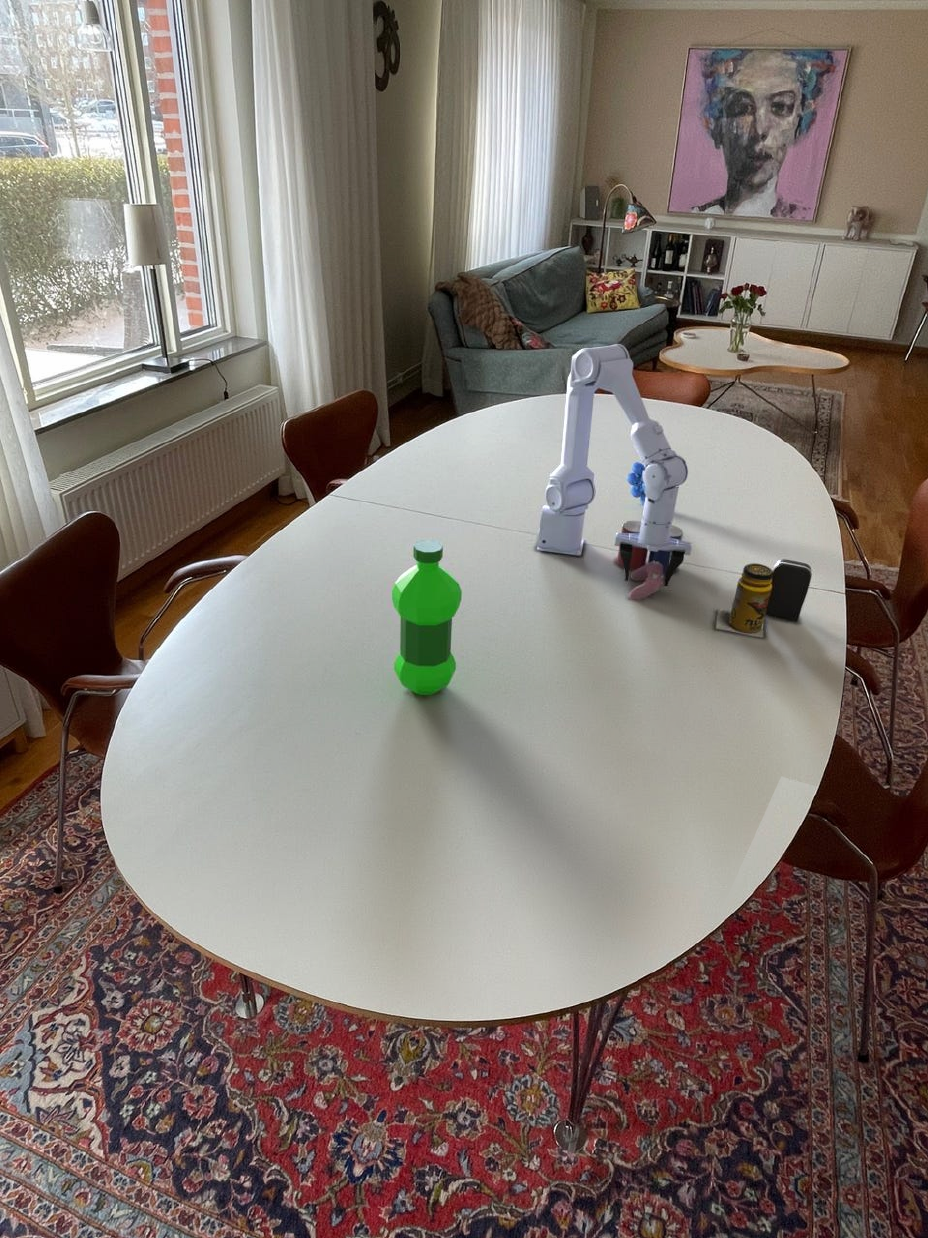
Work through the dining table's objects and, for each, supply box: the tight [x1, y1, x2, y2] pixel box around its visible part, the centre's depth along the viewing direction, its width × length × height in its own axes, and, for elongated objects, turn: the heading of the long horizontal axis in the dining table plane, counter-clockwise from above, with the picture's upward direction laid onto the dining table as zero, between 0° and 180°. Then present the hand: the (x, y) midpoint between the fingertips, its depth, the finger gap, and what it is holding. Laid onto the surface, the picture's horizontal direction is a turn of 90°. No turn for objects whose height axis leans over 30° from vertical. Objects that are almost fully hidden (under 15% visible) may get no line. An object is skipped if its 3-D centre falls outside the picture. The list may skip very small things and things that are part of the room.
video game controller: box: [629, 560, 664, 600], centre depth 166 cm, size 10×5×7 cm, turn 168°
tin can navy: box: [647, 525, 684, 575], centre depth 174 cm, size 6×6×9 cm
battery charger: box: [765, 558, 813, 623], centre depth 158 cm, size 7×4×11 cm, turn 68°
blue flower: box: [626, 461, 646, 506], centre depth 202 cm, size 12×7×12 cm, turn 68°
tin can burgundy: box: [616, 520, 649, 571], centre depth 175 cm, size 6×6×9 cm
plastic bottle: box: [391, 539, 463, 696], centre depth 129 cm, size 10×10×25 cm
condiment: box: [715, 562, 773, 638], centre depth 154 cm, size 7×8×12 cm
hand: (646, 581), depth 166 cm, fingers open, 7 cm apart
